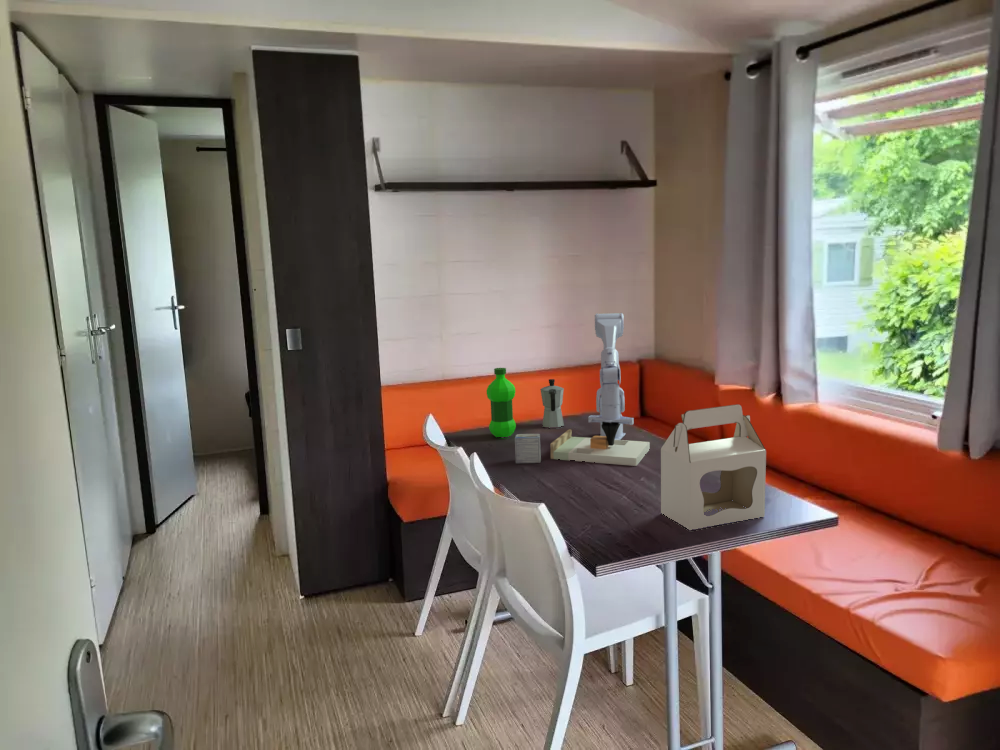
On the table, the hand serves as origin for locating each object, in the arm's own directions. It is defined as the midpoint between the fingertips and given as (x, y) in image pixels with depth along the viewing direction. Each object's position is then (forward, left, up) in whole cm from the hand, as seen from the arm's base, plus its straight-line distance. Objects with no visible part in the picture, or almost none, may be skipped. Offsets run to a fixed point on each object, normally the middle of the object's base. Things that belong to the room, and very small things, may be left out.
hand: (611, 444), depth 245 cm
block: (0, -4, -1) cm, 4 cm away
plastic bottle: (-12, -44, -4) cm, 45 cm away
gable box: (+44, +38, -4) cm, 59 cm away
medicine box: (+14, -24, -4) cm, 28 cm away
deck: (0, -4, -3) cm, 5 cm away
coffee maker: (-30, -31, -4) cm, 43 cm away
